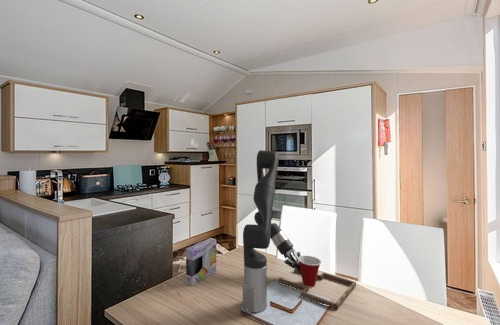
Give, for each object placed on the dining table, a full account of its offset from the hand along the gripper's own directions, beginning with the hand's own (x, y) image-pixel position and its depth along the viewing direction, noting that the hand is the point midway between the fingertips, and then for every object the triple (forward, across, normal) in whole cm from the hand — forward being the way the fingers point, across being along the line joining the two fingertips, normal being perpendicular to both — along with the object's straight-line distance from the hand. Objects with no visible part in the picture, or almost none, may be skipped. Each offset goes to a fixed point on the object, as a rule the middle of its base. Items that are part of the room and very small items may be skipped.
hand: (303, 273), depth 125 cm
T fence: (+7, 0, -1) cm, 7 cm away
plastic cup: (+6, 0, +1) cm, 6 cm away
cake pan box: (-26, -28, +33) cm, 51 cm away
